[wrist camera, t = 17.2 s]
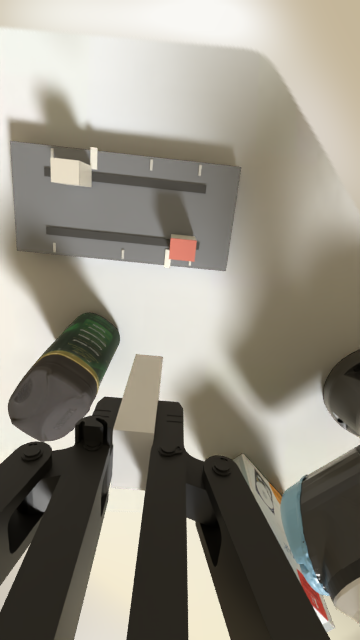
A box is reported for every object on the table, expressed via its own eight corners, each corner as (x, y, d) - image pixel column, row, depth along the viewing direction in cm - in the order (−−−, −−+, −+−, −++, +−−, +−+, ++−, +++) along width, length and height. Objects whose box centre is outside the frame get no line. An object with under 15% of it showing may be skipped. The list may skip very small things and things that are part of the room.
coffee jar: (85, 302, 49) (35, 356, 32) (128, 333, 51) (103, 400, 34) (51, 348, 52) (-13, 422, 34) (93, 376, 54) (53, 460, 36)
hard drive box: (289, 502, 63) (337, 630, 44) (256, 521, 64) (289, 652, 46) (243, 451, 59) (274, 567, 40) (208, 472, 60) (222, 594, 41)
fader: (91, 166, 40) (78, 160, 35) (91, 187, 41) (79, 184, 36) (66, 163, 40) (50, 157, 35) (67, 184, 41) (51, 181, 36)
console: (237, 166, 43) (241, 164, 40) (222, 269, 48) (225, 273, 45) (21, 142, 42) (9, 137, 39) (26, 249, 47) (16, 252, 44)
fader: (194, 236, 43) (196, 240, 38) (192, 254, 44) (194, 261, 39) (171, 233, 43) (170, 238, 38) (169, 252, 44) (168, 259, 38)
